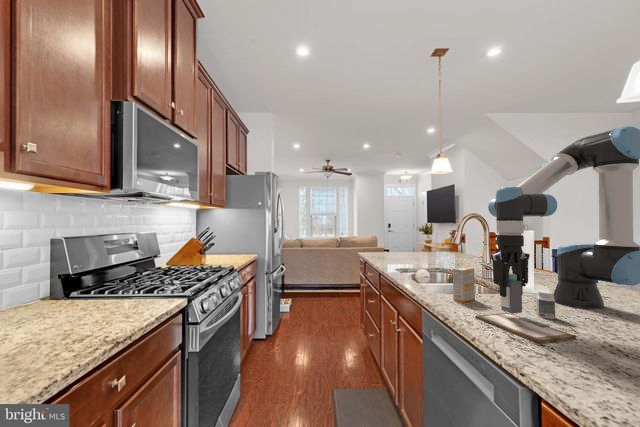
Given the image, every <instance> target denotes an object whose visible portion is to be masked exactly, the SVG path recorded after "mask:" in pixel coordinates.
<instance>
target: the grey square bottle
mask: <svg viewBox="0 0 640 427" xmlns="http://www.w3.org/2000/svg"><path fill="white" fill-rule="evenodd" d="M507 287H510V308H507V307H504V306H501V305H500V306H501V307H500V308H501V311H504V312H505V313H510V314H519V313H520V314H522V313H523V299H522V298H523V295H522V286H521V281H518V280H517V274H513V273H510V272H509V278H508V285H507Z"/></svg>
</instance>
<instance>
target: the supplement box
mask: <svg viewBox="0 0 640 427" xmlns="http://www.w3.org/2000/svg"><path fill="white" fill-rule="evenodd" d="M475 288H476V287H475V267H467V266H466V267H465V266H462V267H456V268H452V291H453V292H452V293H453V298H452V299H453V301H454V302H455V301H456V302H459V303H466V302H471V301H474V300H476V290H475Z"/></svg>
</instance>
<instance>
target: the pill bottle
mask: <svg viewBox="0 0 640 427" xmlns="http://www.w3.org/2000/svg"><path fill="white" fill-rule="evenodd" d="M537 292H538V296H537V299H536V300H537V316H538V317H539V318H542V319H549V320H554V319H556V302H555V299H554V298H553V294H554V292H552V291H549V290H548V291H547V290H538V291H537Z"/></svg>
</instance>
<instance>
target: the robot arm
mask: <svg viewBox="0 0 640 427" xmlns="http://www.w3.org/2000/svg"><path fill="white" fill-rule="evenodd" d="M639 166H640V129H639V128H637V127H635V126H623V127H618V128H612V129H611V130H608V131H607V130H606V131H604V132H600V133H596V134H593V135H589V136H585V137H582V138H580V139H577V140H576V141H574V142H572V143H570V144H569V145H568V146H565V148H563V149H562V150H560V151H558V152H557V153H556V154H555V155H553V156H552V157H551V159H550V162H548V163H547V164H545V165H544V166H543V167H541V168H540V169H539V170H537V171H536V172H534V174H532V175H530V176H529V177H527V178H526V179H525V180H524V181H522V182H521V183H519V184H518V185H516V186H505V187H504V186H503V187H499V188H498V189H497V190H496V191H495V198H493V199H491V200H490V201H489V202H488V206H487V208H488V211H489V213H490V215H491V216H492V217H495V218H496V219H495V220H496V223H495V224H496V233H497V235H496V245H497V246H498V250H497V252H496V253H491V254H490V258H491V261H492V272H493V274H492V275H493V284H494V285H497V286H498V287H499V296H500V306H504V307H507V308H510V287H507V285H508V278H509V273H510V269H511V272H512V273H511V274H517V280H518V281H521V286H522V296H523V294H524V292H523V291H524V289H523V287H526V286H527V284H528V283H529V260H530V255H531V254H530V253H526V252H524V251H523V247H524V245H525V240H524V239H525V238H524V237H525V236H524V235H523V234H524V231H525V230H524V217H525V218H526V217H539V218H540V217H542V218H544V217H550V216H552V215H553V214H555V213H556V211H557V209H558V202H557V199H556V197H554V196H553V195H551V194H548V193H547V194H545V193H544V192H546V191H547V190H548V189H550V188H552V187H553V186H554V185H555V184H556V183H559V182H560V180H563V178H565V177H566V176H571V175H574V174H575V173H577V172H578V171H580V170H583V169H587V168H591V167H592V170H593V171H595V172H596V173H597V174H598V240H596V241H595V242H594V243H592V244H591V243H589V244H566V245H559V246H558V247H557V251H556V252H557V253H556V263H557V267H556V268H557V283H556V287H555V289H554V292H553V297H552V298H554V299H555V304H560V305H563V306H568V307H572V308H579V309H581V308H582V309H591V310H592V309H598V310H599V309H603V308H604V307H605V303H604V299H603V297H602V295H601V292H600V290H599V287H598V281H600V282H606V283H612V284H616V285H618V286H620V285H623V286H636V285H639V284H640V244H638V243H637V242H636V241H634V176H633V175H634V173H633V172H634V171H635V170H636V168H638V167H639Z"/></svg>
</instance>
